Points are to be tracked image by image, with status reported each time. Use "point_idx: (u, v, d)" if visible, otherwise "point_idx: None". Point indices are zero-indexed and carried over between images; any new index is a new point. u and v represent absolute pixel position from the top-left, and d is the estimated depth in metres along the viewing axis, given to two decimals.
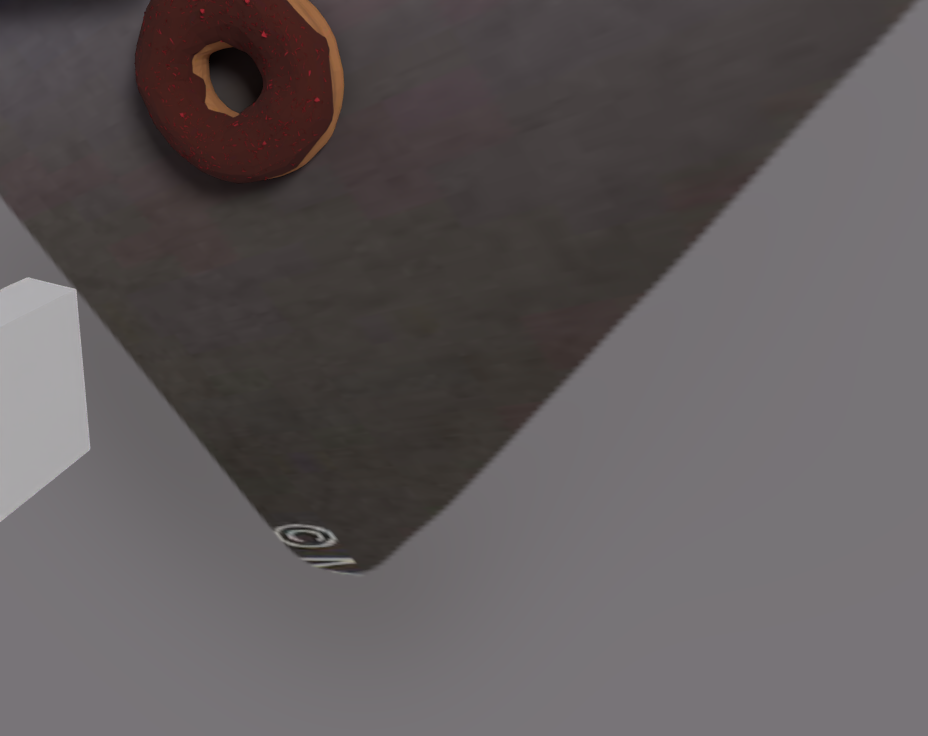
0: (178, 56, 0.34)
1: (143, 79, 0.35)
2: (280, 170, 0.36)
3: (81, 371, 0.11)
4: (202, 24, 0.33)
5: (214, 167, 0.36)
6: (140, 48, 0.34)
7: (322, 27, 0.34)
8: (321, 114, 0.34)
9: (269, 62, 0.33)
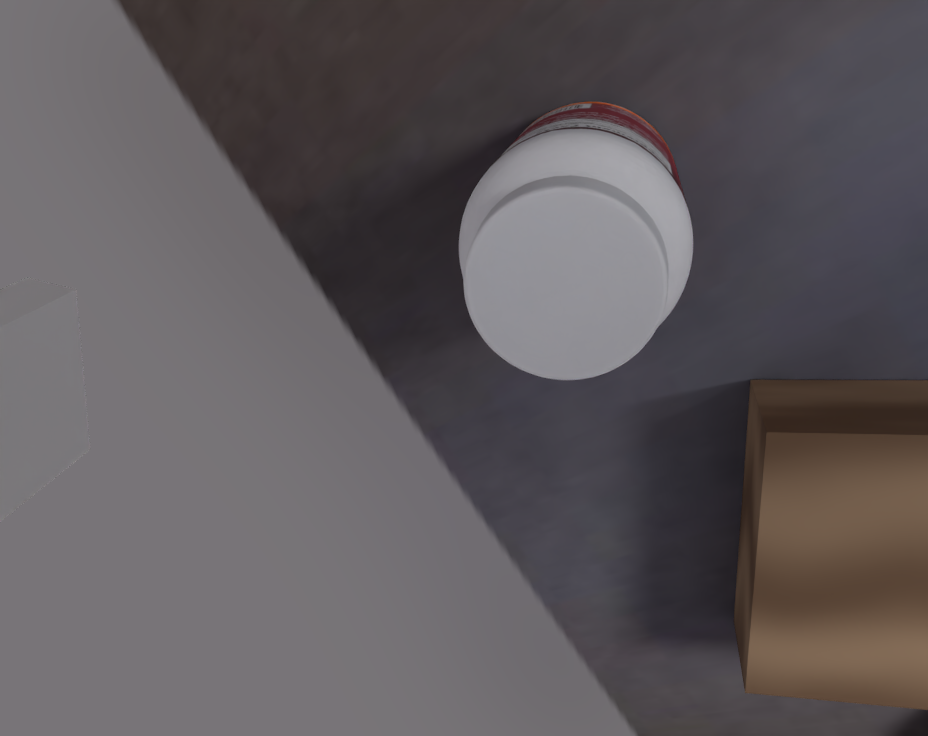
0: None
1: None
2: None
3: (80, 371, 0.11)
4: None
5: None
6: None
7: None
8: None
9: None
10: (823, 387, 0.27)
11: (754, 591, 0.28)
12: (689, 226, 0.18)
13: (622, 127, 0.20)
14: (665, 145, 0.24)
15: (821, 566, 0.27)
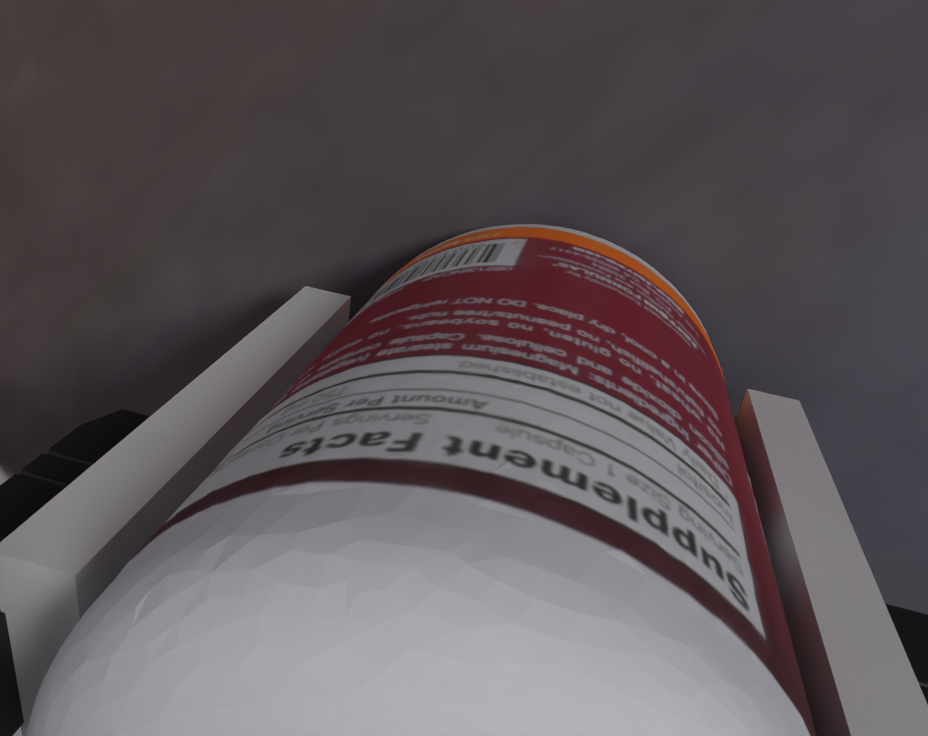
0: None
1: None
2: None
3: None
4: None
5: None
6: None
7: None
8: None
9: None
10: None
11: None
12: None
13: (586, 395, 0.06)
14: (702, 343, 0.10)
15: None
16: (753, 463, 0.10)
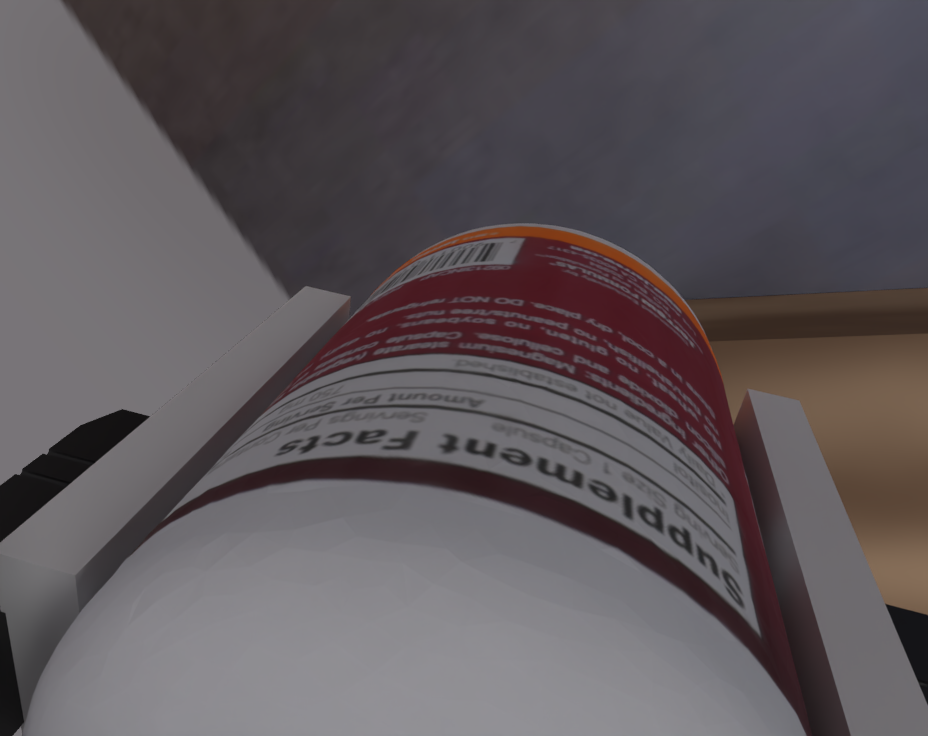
0: None
1: None
2: None
3: None
4: None
5: None
6: None
7: None
8: None
9: None
10: (740, 302, 0.27)
11: None
12: None
13: (582, 394, 0.06)
14: (700, 342, 0.10)
15: None
16: (753, 463, 0.10)
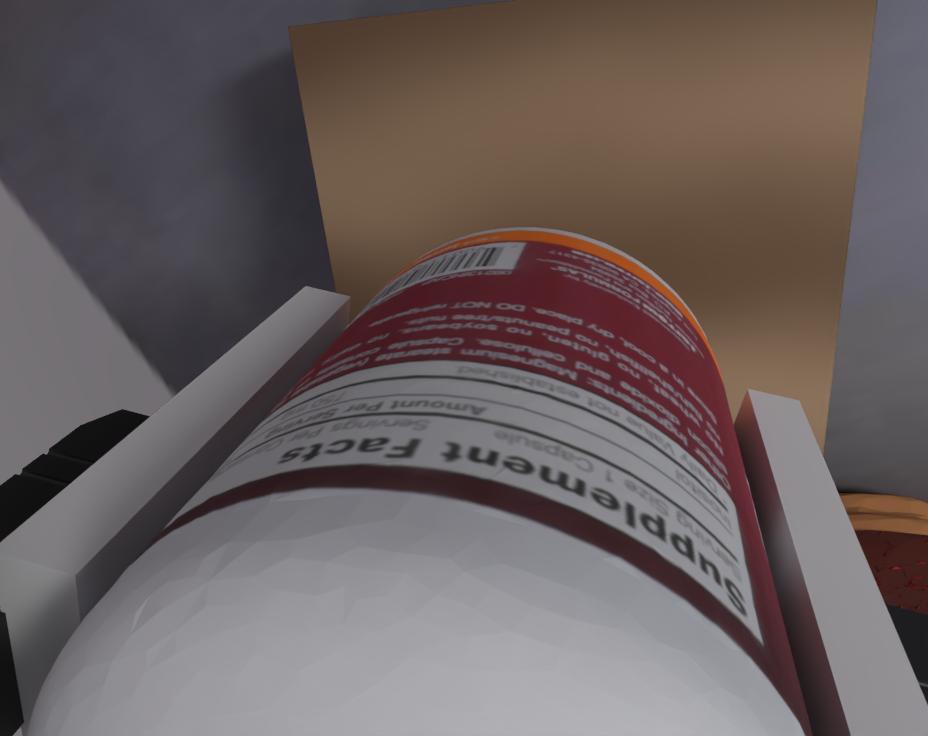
0: None
1: None
2: None
3: None
4: None
5: None
6: None
7: None
8: None
9: None
10: None
11: None
12: None
13: (584, 400, 0.06)
14: (701, 347, 0.10)
15: (413, 259, 0.18)
16: (753, 463, 0.10)
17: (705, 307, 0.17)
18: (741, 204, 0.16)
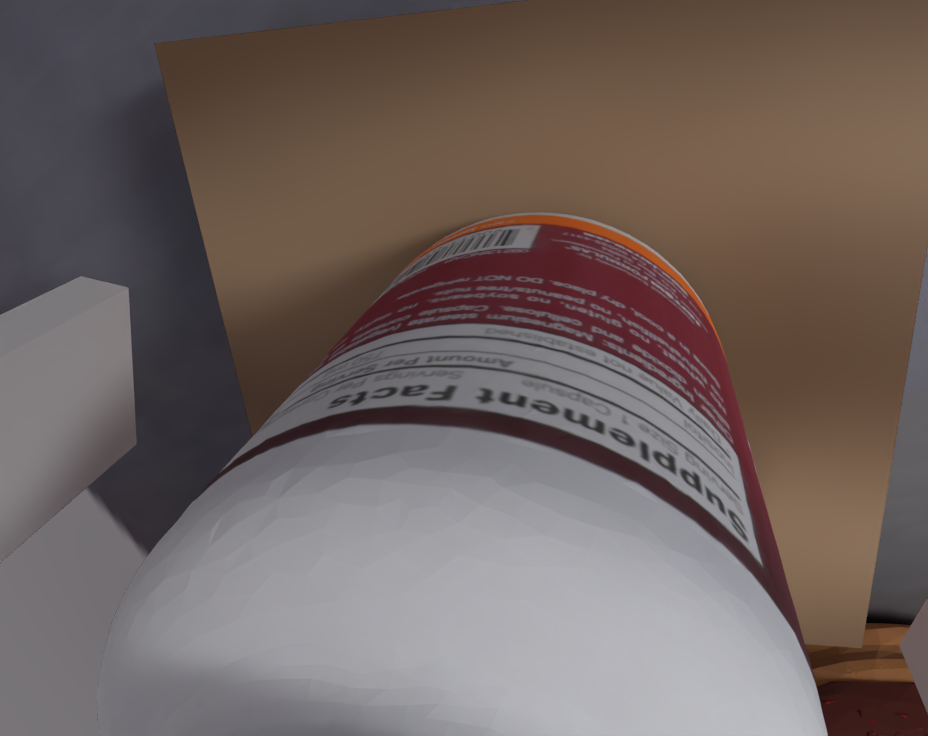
0: None
1: None
2: None
3: (129, 368, 0.11)
4: None
5: None
6: None
7: None
8: None
9: None
10: None
11: (246, 407, 0.15)
12: None
13: (601, 358, 0.07)
14: (705, 323, 0.10)
15: None
16: None
17: None
18: (767, 284, 0.12)
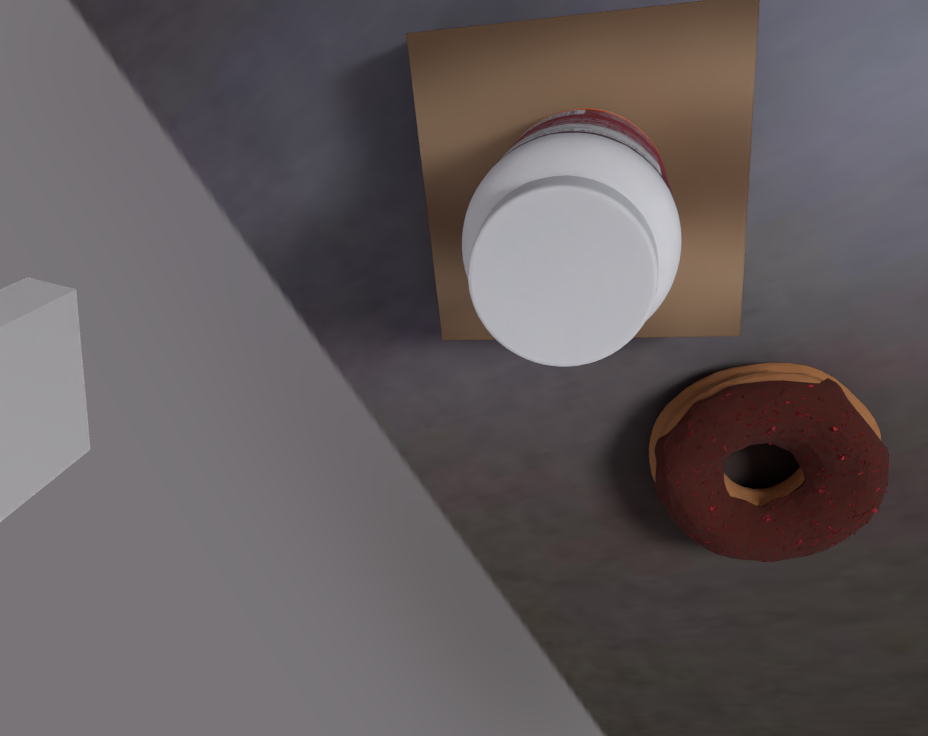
0: (721, 456, 0.33)
1: (677, 475, 0.33)
2: (798, 556, 0.34)
3: (80, 372, 0.11)
4: (764, 436, 0.32)
5: (731, 553, 0.34)
6: (678, 445, 0.33)
7: (876, 431, 0.32)
8: (869, 518, 0.33)
9: (829, 473, 0.32)
10: None
11: (429, 219, 0.30)
12: (677, 223, 0.20)
13: (615, 131, 0.22)
14: (655, 149, 0.25)
15: (479, 182, 0.29)
16: None
17: None
18: (685, 142, 0.27)
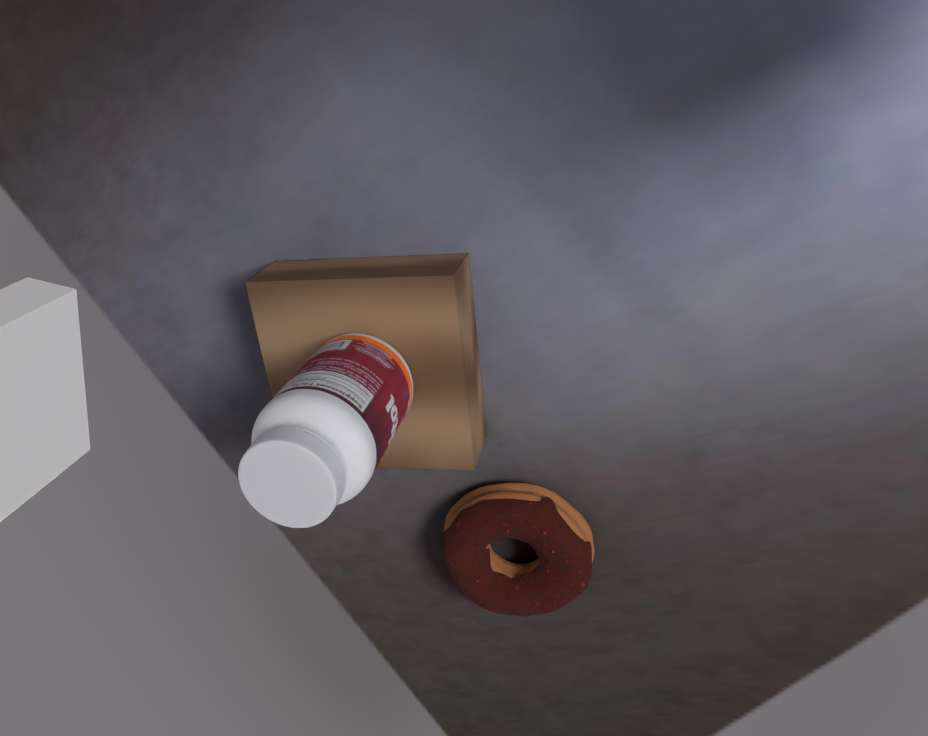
0: (480, 546, 0.48)
1: (452, 558, 0.48)
2: None
3: (81, 371, 0.11)
4: (504, 535, 0.47)
5: (495, 611, 0.49)
6: (452, 538, 0.48)
7: (586, 530, 0.47)
8: (582, 589, 0.48)
9: (550, 560, 0.47)
10: (309, 262, 0.44)
11: (270, 390, 0.44)
12: (366, 443, 0.35)
13: (345, 377, 0.36)
14: (394, 366, 0.40)
15: None
16: None
17: (416, 392, 0.42)
18: (423, 353, 0.41)
